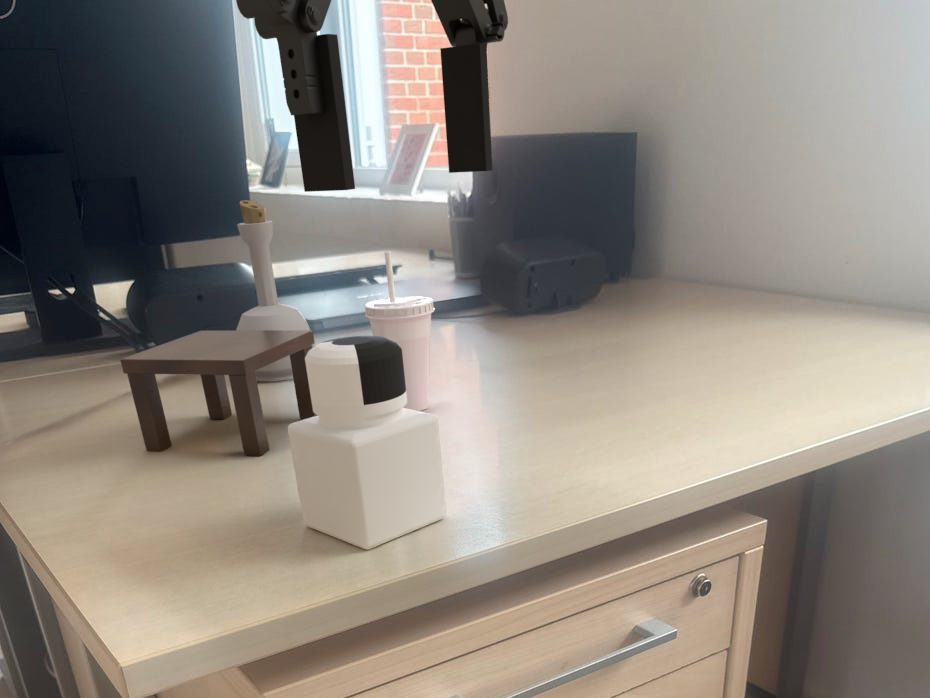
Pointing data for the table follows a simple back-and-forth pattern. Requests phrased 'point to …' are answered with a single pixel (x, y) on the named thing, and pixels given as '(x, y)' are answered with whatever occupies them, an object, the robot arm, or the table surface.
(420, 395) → the smoothie
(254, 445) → the stand
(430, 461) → the medicine bottle
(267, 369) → the potion bottle
